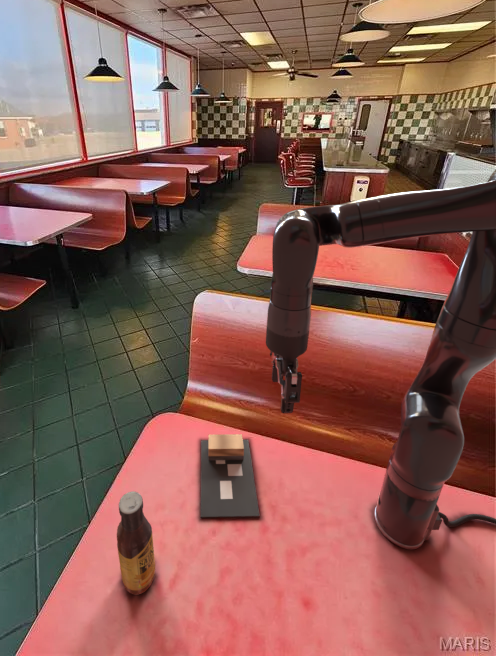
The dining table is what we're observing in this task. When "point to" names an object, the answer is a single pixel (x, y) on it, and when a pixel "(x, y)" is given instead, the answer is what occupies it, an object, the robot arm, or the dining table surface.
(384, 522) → the robot arm
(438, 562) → the dining table surface
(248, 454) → the slate board
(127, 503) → the sauce bottle
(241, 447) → the eraser
